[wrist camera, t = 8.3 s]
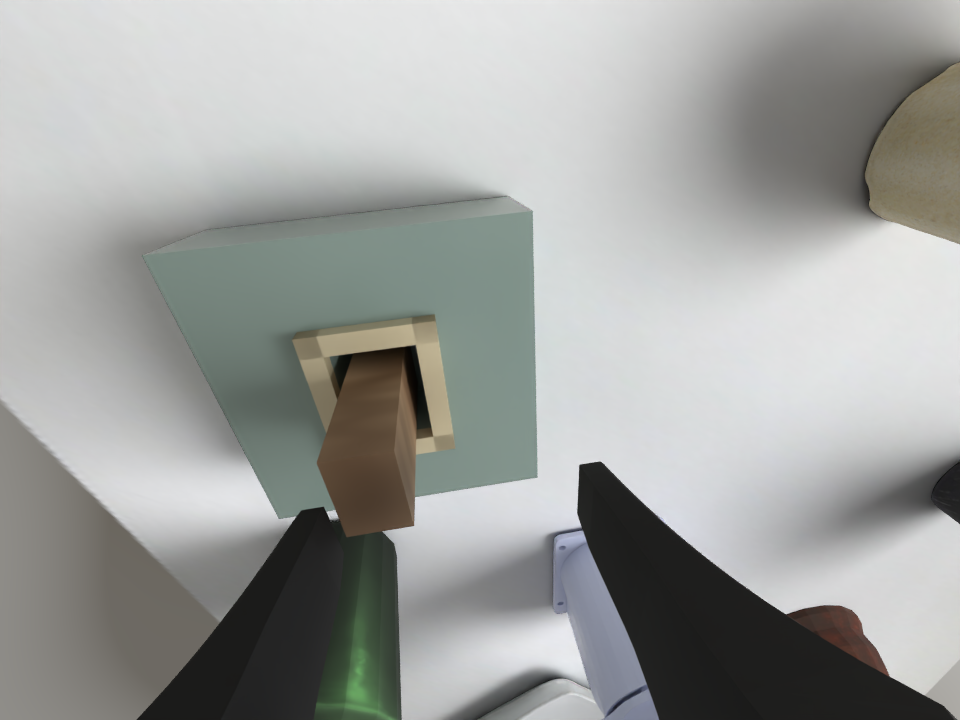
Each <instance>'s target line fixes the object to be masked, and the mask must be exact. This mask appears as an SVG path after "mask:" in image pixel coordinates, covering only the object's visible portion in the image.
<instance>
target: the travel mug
mask: <svg viewBox="0 0 960 720" xmlns="http://www.w3.org/2000/svg"><path fill="white" fill-rule="evenodd" d="M932 501H933V503H934V504H935V505H936V506H937V507H938V508H940V509H941V510H942V511H943V512H945V513H946V514H947V515H949V516H950V517H951V518H953V519H954V520H955V521H957V522H958V523H959V524H960V462H959V463H958V464H957V465H955V466H954V467H953V468H952V469H950V470H949V471H948V472H947V473H946V474H945V475H944V476H943V477H942V478H941V479H940V481H939V482H938V483H937V485H936V486H935V488H934V490H933V493H932Z"/></svg>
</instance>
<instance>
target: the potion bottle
mask: <svg viewBox="0 0 960 720" xmlns="http://www.w3.org/2000/svg"><path fill="white" fill-rule="evenodd" d="M331 524H332V527H333V529H334V531H335V534H336V536H337V538H338V541H339V543H340V545H341V548H342V550H343V552H344V558H343V569H342V579H341V587H340V595H339V600H338V605H337V609H336V614H335V619H334V623H333V628H332V633H331V637H330V642H329V646H328V651H327V655H326V660H325V665H324V669H323V674H322V678H321V683H320V687H319V692H318V698H317V703H316V709H315V715H314V720H402V718H401V684H400V651H399V617H398V583H397V555H396V551H395V546H394V543H393V542H392V541H391V540H390V539H389V538H388V537H387V536H386V535H385V534H384V533H383V532H382V531H380V532H374V533H368V534H362V535H356V536H351V537H346V534H345V532H344V530H343V527H342V525H341V522H332V523H331Z"/></svg>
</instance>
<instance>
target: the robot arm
mask: <svg viewBox="0 0 960 720" xmlns="http://www.w3.org/2000/svg"><path fill="white" fill-rule="evenodd" d="M577 514H578V517H579V520H580V523H581V526H582V529H583V531H577V532H571V533H565V534H560V535H557V536H556V537H555V538H554V565H553V609H554V612H555V613H557V614H560V613H566V612H567V613H568V617H569V620H570V623H571V627H572V630H573V633H574V636H575V640H576V643H577V646H578V649H579V653H580V656H581V659H582V663H583V666H584V669H585V672H586V676H587V679H588V682H589V685H590V689H591V692H592V695H593V697H594V700H595V702H596V704H597V705H598V707H599V709H600V710H601V712H602V713H603V715H604V718H603V719H601V720H957V719H956V718H955V717H954V716H953V715H952V714H951V713H950V712H949V711H948V710H947V709H946V708H945V707H944V706H943V705H941V704H939V703H937V702H935V701H933V700H932V699H930V698H928V697H926V696H924V695H922V694H921V693H919V692H917V691H915V690H913V689H911V688H910V687H908V686H906V685H904V684H902V683H900V682H898V681H897V680H895V679H893V678H891V677H889V676H887V675H886V674H884V673H882V672H880V671H878V670H876V669H875V668H873V667H871V666H869V665H867V664H866V663H864V662H862V661H860V660H859V659H857V658H855V657H854V656H852V655H850V654H848V653H847V652H845V651H843V650H842V649H840V648H838V647H837V646H835V645H833V644H832V643H830V642H828V641H827V640H825V639H823V638H822V637H820V636H818V635H817V634H815V633H814V632H812V631H811V630H809V629H808V628H806V627H804V626H803V625H801V624H800V623H798V622H797V621H795V620H794V619H792V618H790V617H789V616H787V615H786V614H784V613H783V612H781V611H780V610H778V609H776V608H775V607H773V606H772V605H770V604H769V603H767V602H766V601H764V600H763V599H761V598H760V597H759V596H757V595H756V594H754V593H753V592H752V591H750V590H749V589H747V588H746V587H744V586H743V585H742V584H740V583H739V582H737V581H736V580H735V579H733V578H732V577H731V576H729V575H728V574H727V573H725V572H724V571H723V570H721V569H720V568H719V567H717V566H716V565H715V564H713V563H712V562H711V561H710V560H708V559H707V558H706V557H705V556H703V555H702V554H701V553H700V552H698V551H697V550H696V549H695V548H693V547H692V546H691V545H690V544H689V543H687V542H686V541H685V540H684V539H683V538H681V537H680V536H679V535H678V534H677V533H676V532H674V531H673V530H672V529H671V528H670V527H669V526H667V525H666V523H665V521H664V520H663V518H659V517H658V516H656V515H655V514H654V513H653V512H652V511H651V510H650V509H649V508H648V507H647V506H646V505H644V504H643V503H642V502H641V501H640V500H639V499H638V498H637V497H636V496H635V495H634V494H633V493H632V492H631V491H630V490H629V489H628V488H627V487H626V486H625V485H624V484H623V483H622V482H621V481H620V480H619V479H618V478H617V477H616V476H615V475H614V474H613V473H612V472H611V471H610V470H609V469H608V468H607V467H606V466H605V465H604V464H603V463H602V462H594V463H588V464H582V465H579V487H578V509H577ZM343 558H344V552H343V550H342V548H341V545H340V543H339V541H338V538H337V536H336V534H335V531H334V529H333V527H332V524H331V522H330V520H329V517H328V515H327V513H326V510H325V508H324V507H318V508H312V509H306V510H301V511H300V513H299V514H298V515H297V517H296V518H295V520H294V521H293V522H292V524H291V525H290V527H289V528H288V530H287V531H286V533H285V534H284V536H283V537H282V538H281V540H280V541H279V543H278V544H277V546H276V547H275V549H274V550H273V552H272V553H271V554H270V556H269V557H268V559H267V560H266V562H265V563H264V564H263V566H262V567H261V569H260V570H259V571H258V573H257V574H256V576H255V577H254V578H253V580H252V581H251V582H250V584H249V585H248V587H247V588H246V589H245V591H244V592H243V594H242V595H241V596H240V598H239V599H238V600H237V602H236V603H235V604H234V605H233V607H232V608H231V609H230V611H229V612H228V613H227V614H226V616H225V617H224V618H223V620H222V621H221V622H220V623H219V625H218V626H217V627H216V629H215V630H214V631H213V633H212V634H211V635H210V637H209V638H208V639H207V640H206V641H205V642H204V644H203V645H202V646H201V647H200V649H199V650H198V651H197V652H196V653H195V655H194V656H193V657H192V658H191V659H190V661H189V662H188V663H187V664H186V665H185V667H184V668H183V669H182V670H181V671H180V672H179V673H178V675H177V676H176V677H175V678H174V679H173V680H172V681H171V683H170V684H169V685H168V686H167V687H166V688H165V689H164V691H163V692H162V693H161V694H160V695H159V696H158V697H157V698H156V699H155V700H154V701H153V703H152V704H151V705H150V706H149V707H148V708H147V709H146V710H145V711H144V712H143V713H142V715H141V716H140V717H139V718H138V719H137V720H314V715H315V709H316V703H317V698H318V692H319V687H320V683H321V678H322V674H323V669H324V665H325V660H326V655H327V651H328V646H329V642H330V637H331V633H332V628H333V623H334V619H335V614H336V609H337V605H338V600H339V595H340V587H341V579H342V569H343Z"/></svg>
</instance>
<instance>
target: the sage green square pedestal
mask: <svg viewBox="0 0 960 720" xmlns="http://www.w3.org/2000/svg"><path fill="white" fill-rule="evenodd" d="M142 257H143V259H144V261H145V262H146V264H147V266H148V268H149V270H150V272H151V274H152V276H153V278H154V280H155V282H156V284H157V286H158V287H159V289H160V291H161V293H162V295H163V297H164V299H165V301H166V303H167V305H168V307H169V309H170V310H171V312H172V314H173V316H174V318H175V320H176V322H177V324H178V326H179V328H180V330H181V332H182V334H183V335H184V337H185V339H186V341H187V343H188V345H189V347H190V349H191V351H192V353H193V355H194V357H195V359H196V360H197V362H198V364H199V366H200V368H201V370H202V372H203V374H204V376H205V378H206V380H207V382H208V383H209V385H210V387H211V389H212V391H213V393H214V395H215V397H216V399H217V401H218V403H219V405H220V407H221V408H222V410H223V412H224V414H225V416H226V418H227V420H228V422H229V424H230V426H231V428H232V430H233V432H234V433H235V435H236V437H237V439H238V441H239V443H240V445H241V447H242V449H243V451H244V453H245V455H246V456H247V458H248V460H249V462H250V464H251V466H252V468H253V470H254V472H255V474H256V476H257V478H258V480H259V481H260V483H261V485H262V487H263V489H264V491H265V493H266V495H267V497H268V499H269V501H270V503H271V505H272V506H273V508H274V510H275V512H276V514H277V516H278V518H279V519H282V518H288V517H294V516H297V515H298V514H299V513H300V511H301V510H306V509H312V508H318V507H324V508H325V510H326V511H332V510H335V507H334V505H333V503H332V500H331V498H330V495H329V493H328V490H327V488H326V485H325V483H324V481H323V478H322V476H321V473H320V471H319V468H318V466H317V460H318V457H319V454H320V451H321V448H322V445H323V442H324V439H325V436H326V433H327V430H328V427H329V424H330V421H331V418H332V415H333V412H334V409H335V406H336V403H337V400H338V397H339V394H340V391H341V388H342V385H343V382H344V379H345V376H346V373H347V370H348V367H349V364H350V361H351V358H352V356H353V353H360V352H367V351H374V350H382V349H389V348H397V347H404V346H410V347H411V352H412V357H413V362H414V367H415V372H416V377H417V382H418V391H417V431H416V470H415V497H419V496H425V495H431V494H437V493H443V492H450V491H456V490H462V489H468V488H475V487H481V486H487V485H493V484H499V483H506V482H512V481H518V480H524V479H530V478H537V427H536V373H535V318H534V264H533V211H532V210H530V209H529V208H527V207H525V206H524V205H522V204H521V203H519V202H517V201H516V200H514V199H513V198H511V197H509V196H506V197H497V198H488V199H479V200H470V201H461V202H452V203H443V204H434V205H425V206H416V207H407V208H398V209H389V210H380V211H371V212H362V213H353V214H344V215H335V216H326V217H317V218H308V219H299V220H290V221H281V222H272V223H263V224H254V225H245V226H236V227H227V228H218V229H209V230H205V231H202V232H200V233H197V234H194V235H192V236H189V237H187V238H184V239H182V240H179V241H177V242H174V243H172V244H169V245H167V246H164V247H162V248H159V249H157V250H154V251H152V252H149V253H147V254H144V255H142Z"/></svg>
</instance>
